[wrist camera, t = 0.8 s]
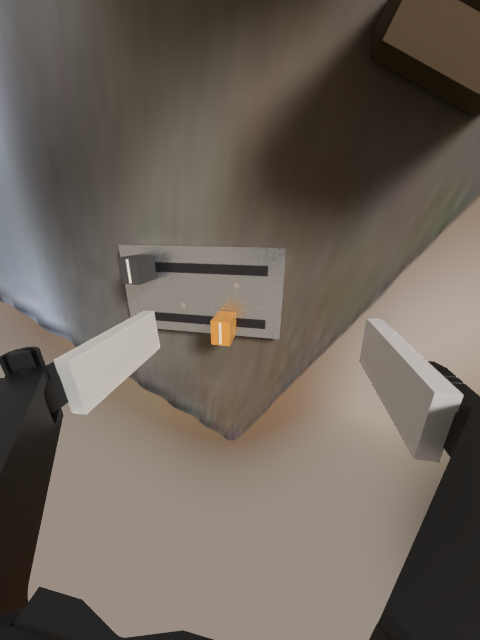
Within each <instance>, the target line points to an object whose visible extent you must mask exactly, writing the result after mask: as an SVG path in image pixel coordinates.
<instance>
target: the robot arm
mask: <svg viewBox="0 0 480 640" xmlns="http://www.w3.org/2000/svg"><path fill="white" fill-rule="evenodd" d="M158 349H160V343H159V337H158V331H157V325H156V319H155V313H154V311H142V312H140V313H138V314H136V315H135V316H133V317H131V318H129V319H127V320H125V321H124V322H122V323H120V324H118V325H116V326H114V327H113V328H111V329H109V330H107V331H105V332H104V333H102V334H100V335H98V336H96V337H94V338H93V339H91V340H89V341H87V342H85V343H83V344H82V345H80V346H78V347H76V348H74V349H72V350H71V351H69V352H67V353H65V354H63V355H61V356H60V357H58V358H56V359H54V360H53V361H54V362H52V363H50V364H49V365H47V366H46V365H45V363H44V360H43V357H42V354H41V351H40V349H39V348H38V347H26V348H21V349H17V350H13V351H11V352H8V353H6V354H4V355H2V356H0V364H1V366H2V369H3V371H4V373H5V378H0V640H213V639H209V638H206V637H203V636H200V635H196V634H193V633H190V632H186V631H175V632H168V633H160V634H152V635H145V636H137V637H129V638H122V637H119V636H118V635H116V634H115V633H114V632H113V631H112V630H111V629H110V628H109V627H108V626H107V625H106V624H105V623H104V622H103V621H102V619H101V618H100V617H99V616H97V614H96V613H95V612H94V611H93V610H92V609H91V608H90V607H88V605H87V604H86V603H85V602H84V601H83V600H81V599H78V598H75V597H71V596H68V595H65V594H61V593H58V592H54V591H51V590H48V589H45V588H42V587H39V588H38V589H37V591H36V592H35V594H34V595H33V596H32V598H31V599H30V601H29V602H28V596H27V595H28V583H29V578H30V573H31V568H32V564H33V559H34V554H35V549H36V544H37V539H38V534H39V530H40V525H41V520H42V515H43V510H44V505H45V501H46V496H47V491H48V486H49V481H50V476H51V471H52V467H53V462H54V457H55V452H56V447H57V442H58V437H59V433H60V428H61V423H62V418H63V412H62V409H61V407H62V406H64V405H65V404H66V403H68V404H69V407H70V410H71V413H73V414H81V415H87V414H88V413H89V412H90V411H91V410H92V409H94V408H95V407H96V406H97V405H98V404H99V403H100V402H101V401H102V400H103V399H105V397H107V396H108V395H109V394H110V393H111V392H112V391H113V390H114V389H116V388H117V387H118V386H119V385H120V384H121V383H122V382H123V381H124V380H125V379H127V378H128V377H129V376H130V375H131V374H132V373H133V372H134V371H135V370H136V369H138V368H139V367H140V366H141V365H142V364H143V363H144V362H145V361H146V360H147V359H149V358H150V357H151V356H152V355H153V354H154V353H155V352H156V351H157V350H158ZM360 363H361V365H362V366H363V368H364V370H365V372H366V374H367V376H368V377H369V379H370V381H371V383H372V385H373V386H374V388H375V390H376V392H377V394H378V395H379V397H380V399H381V401H382V403H383V404H384V406H385V408H386V410H387V412H388V413H389V415H390V417H391V419H392V420H393V422H394V424H395V426H396V428H397V430H398V431H399V433H400V435H401V437H402V439H403V440H404V442H405V444H406V446H407V448H408V449H409V451H410V453H411V455H412V457H413V458H414V459H418V460H426V461H433V462H439V461H440V458H441V456H442V453H443V450H444V449H445V450H446V452H447V453H448V454H449V456H450V457H451V458H450V461H449V463H448V465H447V468H446V470H445V472H444V474H443V477H442V479H441V481H440V484H439V486H438V488H437V490H436V492H435V495H434V497H433V499H432V502H431V504H430V506H429V508H428V511H427V513H426V516H425V518H424V520H423V522H422V524H421V527H420V529H419V531H418V534H417V536H416V538H415V540H414V543H413V545H412V547H411V550H410V552H409V554H408V556H407V559H406V561H405V563H404V566H403V568H402V570H401V572H400V575H399V577H398V579H397V582H396V584H395V586H394V588H393V591H392V593H391V596H390V598H389V600H388V602H387V604H386V607H385V609H384V611H383V613H382V616H381V618H380V620H379V622H378V624H377V625H376V627H375V629H374V631H373V633H372V635H371V637H370V639H369V640H480V396H478V395H477V394H476V393H475V392H474V391H473V390H471V389H470V388H469V387H468V386H467V385H466V384H463V382H462V381H461V380H460V379H458V378H456V376H455V375H454V374H453V373H452V372H450V371H449V370H448V369H447V368H445V367H443V366H441V365H439V364H437V363H436V362H431V361H427V360H426V359H424V358H423V357H422V356H421V355H420V354H419V353H418V352H417V351H416V350H415V349H413V348H412V347H411V346H410V345H409V344H408V343H407V342H406V341H405V340H404V339H403V338H402V337H401V336H400V335H399V334H397V333H396V332H395V331H394V330H393V329H392V328H391V327H390V326H389V325H388V324H387V323H386V322H385V321H383V320H382V319H371V318H367V321H366V326H365V332H364V338H363V344H362V350H361V356H360Z"/></svg>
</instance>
